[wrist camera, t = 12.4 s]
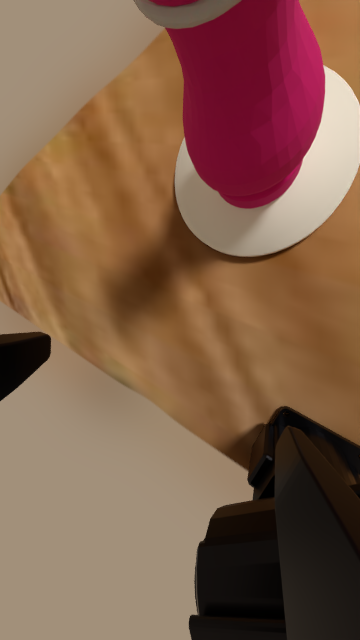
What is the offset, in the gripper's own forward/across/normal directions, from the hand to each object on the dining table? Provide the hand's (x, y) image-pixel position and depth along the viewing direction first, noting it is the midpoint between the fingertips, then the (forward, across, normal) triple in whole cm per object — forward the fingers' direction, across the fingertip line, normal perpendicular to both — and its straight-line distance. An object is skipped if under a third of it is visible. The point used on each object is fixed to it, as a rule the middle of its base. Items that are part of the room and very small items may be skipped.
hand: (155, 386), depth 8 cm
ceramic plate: (+14, 0, -11) cm, 18 cm away
